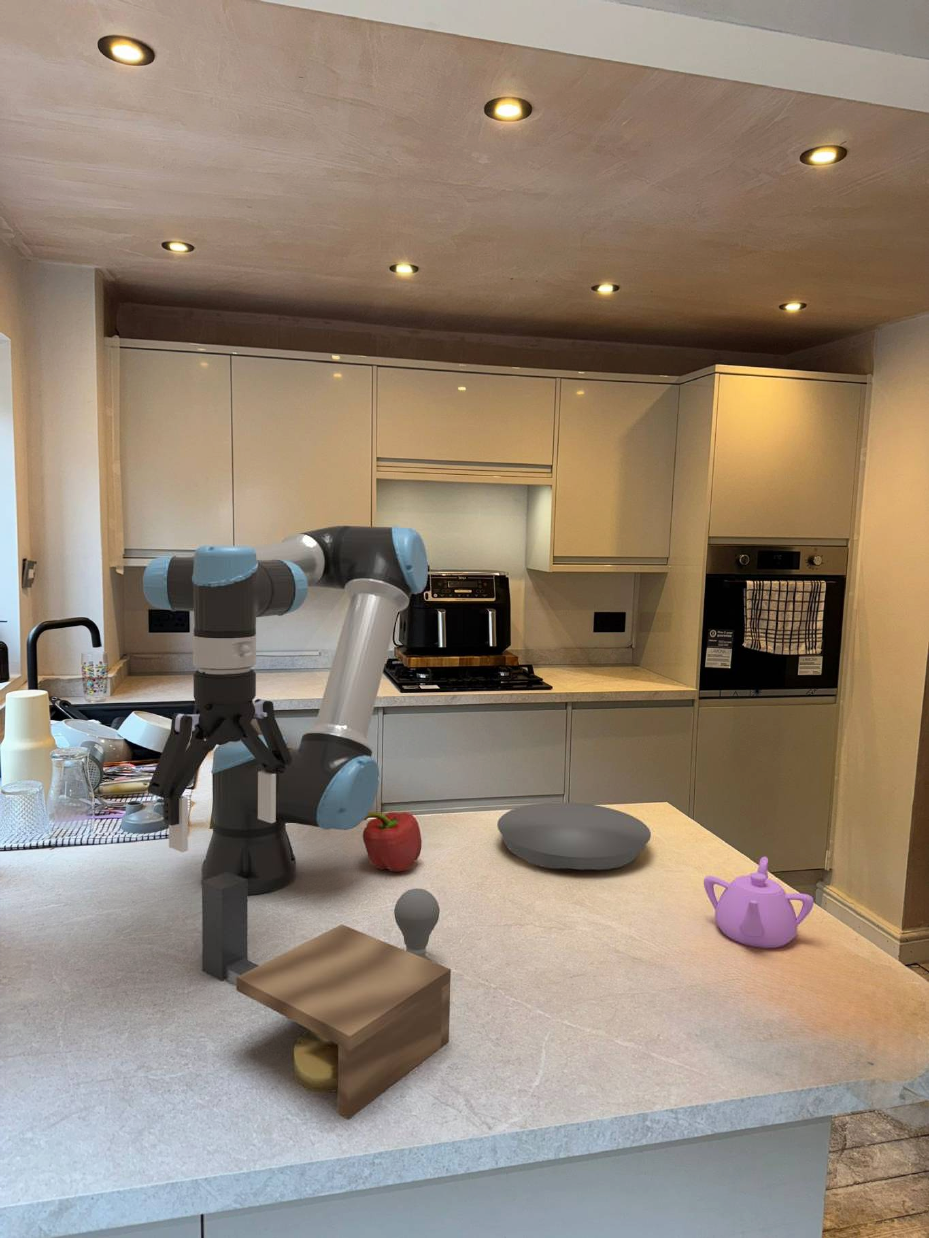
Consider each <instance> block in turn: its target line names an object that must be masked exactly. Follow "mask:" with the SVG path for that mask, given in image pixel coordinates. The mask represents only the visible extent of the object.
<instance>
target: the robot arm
mask: <svg viewBox="0 0 929 1238" xmlns="http://www.w3.org/2000/svg"><path fill="white" fill-rule="evenodd" d="M418 532H419V531H417V530H416V529H414V528H411V527H400V526H399V527H398V526H396V525H393V526H389V527H388V526H359V525H356V526H355V525H354V526H353V525H334V526H328V527H324V528H319V529H314V530H310V531H303V532H300V533H294V534H291V535H288V536H287V537H285V538H283V540H282V541H281V542H276V543H275V542H274V543H268V544H263V545H256V546H255V545H254V546H249V545H248V546H247V545H245V546H244V545H243V546H242V545H209V544H208V545H205V544H203V545H200V546H199V547H197V548H196V550H195V552H194V555H193V556H181V557H180V556H176V555H171V556H162V557H161V556H160V557H156V558H154V559H152V560H150V562H149V563H148V565H147V566H146V568H145V570H144V572H143V576H142V584H143V585H142V587H143V589H142V591H143V594H144V596H145V599H146V600H147V603H149V604H150V605H151V606H153V607H154V608H157V609H159V610H169V611H171V612H177V611H181V612H182V611H184V612H193V624H194V626H193V639H192V640H193V643H192V644H193V647H192V648H193V649H192V650H193V651H192V654H193V655H192V656H193V657H192V666H193V667H195V668H196V669H197V670H195V672H194V673H193V699H194V702H195V705H196V706H195V711H194V713H193V714H184V713H179V712H175V713H173V715H172V716H171V722H170V723H171V724H170V733H169V735H168V737H167V739H166V742H165V744H164V747H163V749H162V751H161V755H160V757H159V759H158V762H157V764H156V767H155V769H154V771H153V774H152V777H151V779H150V782H149V784H148V786H147V790H146V791H147V793H149V794H150V795H154V796H156V797H159V798H161V799H163V801H162V802H163V822H164V823H165V824H166V825H168V848H170V849H173V850H175V851H178V852H181V853H185V852H187V851H188V850H189V839H188V838H189V833H188V832H189V830H188V829H189V828H188V827H189V823H188V822H189V819H188V818H189V816H188V815H189V814H188V813H189V812H188V811H189V810H188V807H189V806H188V804H189V803H188V800H189V798H188V797H186V796H183V794H184V792H185V791H186V789H187V788H188V786H189V784H190V783H191V781H192V780H193V778H194V776H195V775H196V774H197V771H198V770H199V768H200V767H201V765H202V764H203V762H204V761H205V760H206V757H207V756H208V754H209V753H210V752H212V751H213V750H214V749H215V750H214V752H213V755H212V756H213V757H212V767H211V772H210V773H211V774H212V775H211V777H212V781H211V782H212V834H211V838H210V841H209V845H208V848H207V852H206V855H205V859H203V860H204V861H203V863H202V865H201V882H202V881H204V880H207V879H209V878H212V877H215V876H217V875H220V874H223V873H225V872H230V873H233V874H235V875H237V876H240V877H242V878H245V879H247V880H248V896H250V895H259V894H264V893H269V892H273V891H275V890H279V889H281V888H283V887H285V886H287V885H289V884H290V883H291V882H293V880H294V879H295V878H296V876H297V858H296V856H295V854H294V849H293V846H292V843H291V839H290V837H289V834H288V832H287V829H286V828H287V825H286V823H289V824H295V825H302V826H309V827H316V828H321V829H323V830H339V831H340V830H343V831H346V830H347V831H348V830H352V829H354V828H357V826H359V825H360V824H361V822H363V820H364V819H365V817H366V816H367V815H368V813H370V811H371V809H372V807H373V806H374V802H375V800H376V797H377V794H378V790H379V784H380V781H379V780H378V779H379V777H380V768H379V765H378V762H377V761H376V760H375V759H374V758H373V757H372V755H373V752H374V751H373V748H372V746H371V745H370V744H369V742H368V740H367V737H368V734H369V733H368V732H369V730H370V729H369V728H370V724H371V721H372V717H373V712H374V708H375V705H376V700H377V696H378V694H379V693H378V692H379V689H380V685H381V681H382V678H383V672H384V668H385V665H386V660H387V656H388V652H389V649H390V648H389V647H390V643H391V642H392V641H391V640H392V636H393V632H394V628H395V623H396V621H397V616H398V613H400V612H401V611H403V610H406V609H407V608H408V606H409V603H410V600H411V596H412V594H414V595H417V594H421V593H422V592H424V590H425V588H426V587H427V581H428V575H429V574H428V573H429V569H428V567H429V565H428V555H427V550H426V546H425V543H424V540H423V538H422V536H421V535H420V533H418ZM310 587H311V588H312V587H314V588H315V587H318V588H326V589H327V588H328V589H336V590H337V589H338V590H344V593H345V595H346V596H347V598H348V599H349V602H348V607H347V610H346V613H345V617H344V620H343V624H342V627H341V632H340V634H339V638H338V642H337V646H336V650H335V653H334V657H333V659H332V663H331V668H330V671H329V675H328V678H327V681H326V685H325V689H324V693H323V696H322V700H321V702H320V707H319V709H318V714H317V718H316V721H315V723H314V724H315V725H314V726H313V727H312V728H311V729H308V730H307V731H305V732H303V734H302V736H301V739H300V742H299V743H300V744H299V746H298V748H291V747H288V741H287V738H286V737H285V736H284V735H283V734H282V730H280V727H279V725H278V722H277V720H276V717H275V710H274V703H273V701H271V700H266V699H260V698H257V699H255V698H256V696H257V694H256V693H257V672H255V670H254V669H252V668H253V667H254V666H255V665H256V664H257V629H256V628H257V618H261V617H262V618H263V617H272V616H279V617H280V616H284V615H287V614H289V613H292V612H295V611H297V610H299V608H301V606H303V604H304V602H305V600H306V598H307V596H308V590H309V588H310ZM254 699H255V701H254V702H253V700H254ZM254 718H255V720H256V723H257V725H258V728H259V730H260V732H261V734H259V732H258V731H257V730H256V728H255V727H254V726H253V725H252V721H253V719H254ZM192 732H194V733H193V735H192ZM204 739H205V740H204ZM189 743H190V744H189ZM364 821H365V820H364Z"/></svg>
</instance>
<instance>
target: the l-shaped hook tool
mask: <svg viewBox="0 0 929 1238" xmlns="http://www.w3.org/2000/svg"><path fill="white" fill-rule="evenodd" d="M248 898H249V895H248V880H247V879H245V878H242V877H240V876H237V875H235V874H233V873H230V872H225V873H223V874H220V875H217V876H215V877H212V878H209V879H207V880H204V881H202V880H201V903H202V905H201V907H202V909H201V910H202V911H201V914H202V915H201V917H202V919H201V920H202V921H201V923H202V925H201V926H202V927H201V929H202V933H201V934H202V935H201V936H202V937H201V938H202V939H201V940H202V941H201V942H202V943H201V946H202V950H201V951H202V952H201V953H202V954H201V956H202V957H201V959H202V961H201V963H202V966H201V967H202V969H201V971H202V972H204V973H205V974H207V975H210V976H211V977H212V978H213V977H214V979H217V980H219V981H221V982H223V981H227V982H229V983H230V984H233V985H234V986H236V977H238V976H240V975H242V974H244V973H246V972H248V971H250V970H252V969H254V968H256V967H258V966H260V965H259V964H257V963H255V962H252V961H250V960H249V959H248V935H249V934H248V932H249V931H248V919H249V918H248V917H249V915H248V914H249V913H248V907H249V905H248V900H249V899H248Z"/></svg>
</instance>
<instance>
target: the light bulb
mask: <svg viewBox="0 0 929 1238" xmlns="http://www.w3.org/2000/svg"><path fill="white" fill-rule="evenodd" d="M393 912H394V913H393V914H394V920H395V923H396V925H397V926H398V928H399V931H401V933H402V936H403V942H404V945H405V947H406V949H405V951H408V952H410V953H412V954H415V955H417V956H420V957H422V958H425V959H427V954H426V953H427V946H428V944H429V941H430V935H431V934H432V931H434V929H435V927H436V925H437V924H438V921H439V918H440V905H439V902H438V900H437V899H436V897H435V896H434V895H433V894H432V893H431V892H430V891H428V890H427V889H423V888H412V889H408V890H407V891H405V892H404V893H402V894H401V895H400V896H399V898H398V899H397V901H396V903H395V904H394V909H393Z"/></svg>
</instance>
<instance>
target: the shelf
mask: <svg viewBox="0 0 929 1238" xmlns="http://www.w3.org/2000/svg"><path fill="white" fill-rule="evenodd" d="M451 971H452V969H451V968H449V967H446V966H443V965H441V964H439V963H436V962H434V961H431V960H429V959H427V958H426V959H425V958H422V957H420V956H417V955H415V954H412V953H410V952H408V951H406V949H402V948H401V947H398V946H395V945H393V944H391V943H387V942H386V941H383V940H382V939H381V940H380V939H378V938H376V937H373V936H371V935H369V934H366V933H364V932H361V931H359V930H357V929H354V928H352V927H349V926H347V925H345V924H339V925H337V926H336V927H335V926H334V928H332V929H330V930H328V931H325V932H324V933H322V934H319V935H317V936H316V937H314V938H312V939H309V940H308V941H306V942H304V943H302V944H300V945H298V946H296V947H293V948H292V949H289V950H287V951H286V952H284V953H282V954H280V955H277V956H276V957H274V958H272V959H270V960H268V961H266V962H264V963H261V964H260V965H259V966H258V967H256V968H254V969H252V970H250V971H248V972H246V973H244V974H242V975H240V976H238V977H236V985H235V986H236V990H235V991H236V992H238V993H240V994H242V995H245V996H246V997H247V998H250V999H252V1000H254V1001H255V1002H257V1003H259V1004H261V1005H263V1006H265V1007H267V1008H269V1009H270V1010H273V1012H274V1011H275V1012H276V1013H278V1014H279V1015H281V1016H283V1017H285V1018H287V1019H289V1020H291V1021H292V1022H294V1023H296V1024H298V1025H300V1026H303V1027H304V1028H306V1029H308V1031H309V1030H311V1031H313V1032H315V1033H317V1034H319V1035H321V1036H323V1037H324V1038H326V1039H328V1040H330V1041H332V1042H334V1043H336V1044H338V1090H337V1113H338V1114H340V1115H341V1116H343V1117H345V1118H346V1119H348V1120H349V1119H351V1118H352V1117H353V1116H355V1115H356V1114H357V1113H359V1112H360V1111H361V1110H362V1109H364V1108H365V1107H366V1106H368V1105H369V1104H370V1103H371V1102H373V1101H374V1100H375V1099H376V1098H378V1097H379V1096H380V1095H382V1094H383V1093H385V1092H386V1091H387V1090H388V1089H390V1088H391V1087H392V1086H394V1085H395V1084H396V1083H397V1082H399V1081H400V1080H401V1079H402V1078H403V1077H406V1075H407V1074H409V1073H410V1072H411V1071H413V1070H414V1069H416V1067H418V1066H419V1065H420V1064H422V1063H423V1062H424V1061H426V1060H427V1059H428V1058H429V1057H431V1056H432V1055H433V1054H435V1053H436V1052H437V1051H439V1050H440V1049H441V1048H442V1047H444V1046H445V1045H446V1044H447V1043H449V1041H450V1009H451V982H452V981H451V978H452V977H451V975H452V973H451Z"/></svg>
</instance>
